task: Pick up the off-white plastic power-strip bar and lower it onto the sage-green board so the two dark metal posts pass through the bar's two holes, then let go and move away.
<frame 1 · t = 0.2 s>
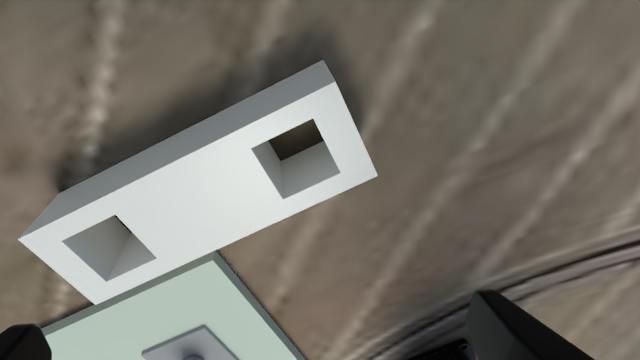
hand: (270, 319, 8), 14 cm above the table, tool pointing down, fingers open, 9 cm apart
power strip bar: (211, 166, 21), on the table
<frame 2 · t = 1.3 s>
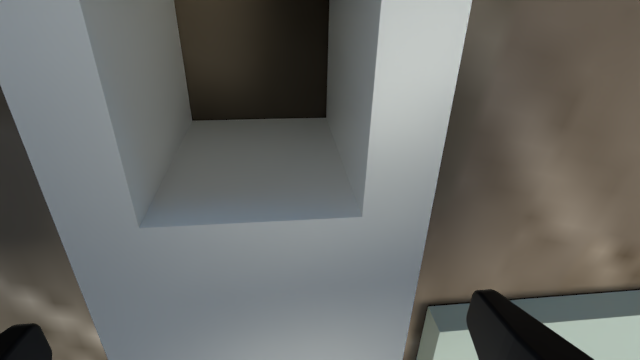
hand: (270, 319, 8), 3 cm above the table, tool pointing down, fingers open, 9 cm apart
power strip bar: (267, 241, 10), on the table
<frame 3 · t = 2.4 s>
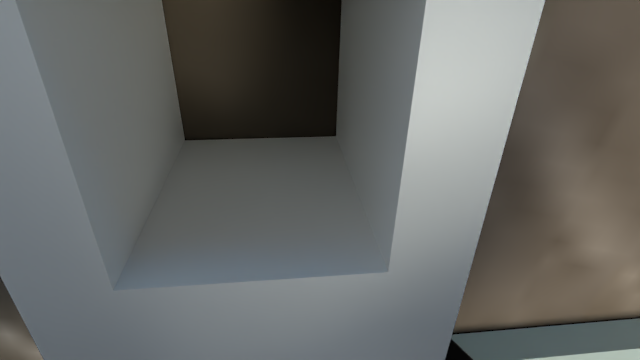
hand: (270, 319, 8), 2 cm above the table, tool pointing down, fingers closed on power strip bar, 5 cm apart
power strip bar: (269, 270, 9), on the table, touching gripper
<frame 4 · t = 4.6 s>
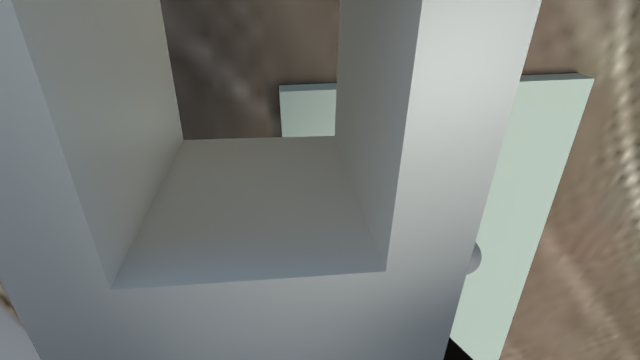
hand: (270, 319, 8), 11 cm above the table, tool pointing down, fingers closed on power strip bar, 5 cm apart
power strip bar: (268, 269, 9), point 9 cm above the table, touching gripper
post board: (409, 265, 23), on the table
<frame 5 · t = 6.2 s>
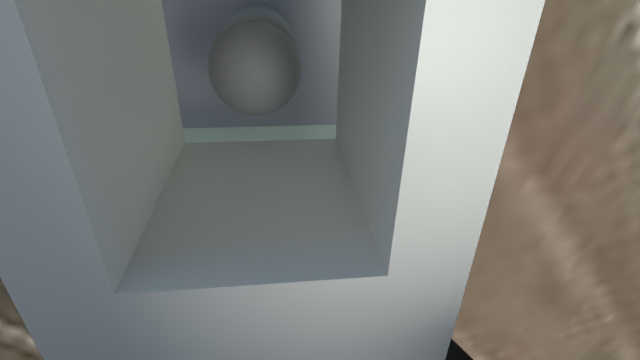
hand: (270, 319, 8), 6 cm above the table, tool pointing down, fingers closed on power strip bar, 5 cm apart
power strip bar: (270, 271, 9), point 5 cm above the table, touching gripper
post board: (268, 179, 13), on the table
when the fingers open (4 cm above the table, at t = 7.1 s): power strip bar stays where it is, resting on post board.
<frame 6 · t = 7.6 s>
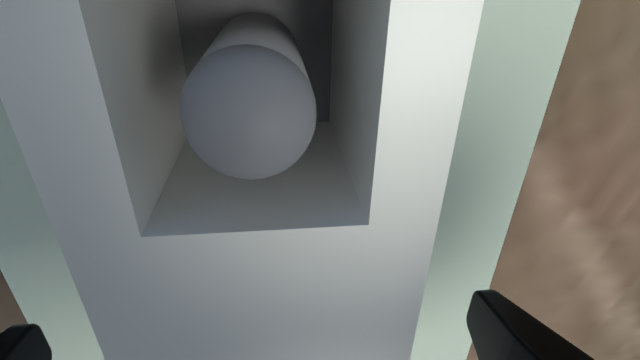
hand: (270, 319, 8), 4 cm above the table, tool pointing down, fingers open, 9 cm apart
power strip bar: (269, 246, 10), point 1 cm above the table, touching post board
post board: (269, 217, 11), on the table
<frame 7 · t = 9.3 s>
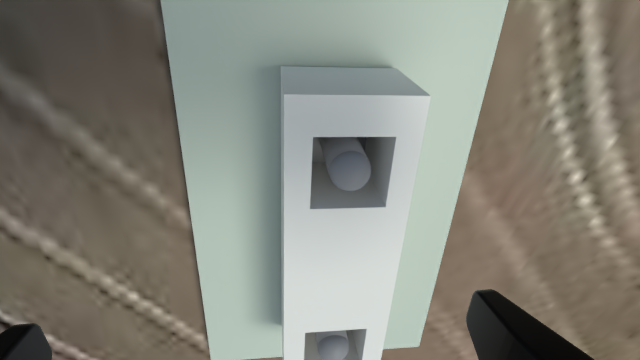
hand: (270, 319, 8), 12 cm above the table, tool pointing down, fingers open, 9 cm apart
power strip bar: (329, 222, 20), point 1 cm above the table, touching post board
post board: (325, 208, 21), on the table
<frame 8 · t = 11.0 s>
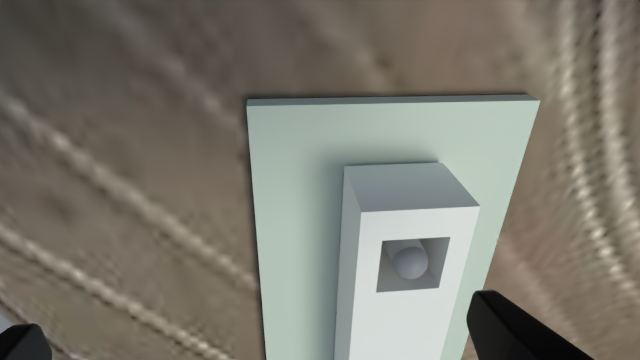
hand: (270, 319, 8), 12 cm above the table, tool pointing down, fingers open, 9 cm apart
power strip bar: (379, 283, 23), point 1 cm above the table, touching post board
post board: (374, 268, 24), on the table
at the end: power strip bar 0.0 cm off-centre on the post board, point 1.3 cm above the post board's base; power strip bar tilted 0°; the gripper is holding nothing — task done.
